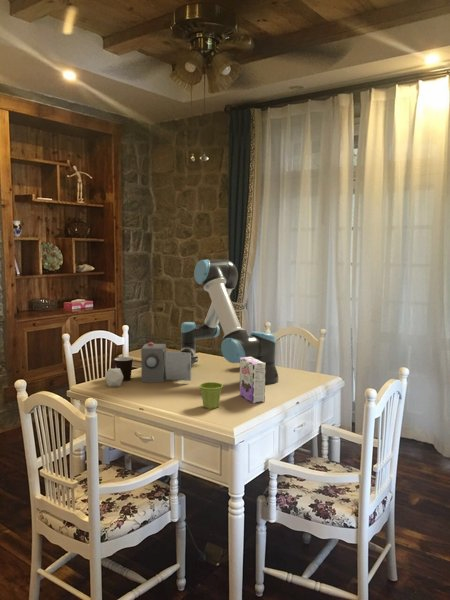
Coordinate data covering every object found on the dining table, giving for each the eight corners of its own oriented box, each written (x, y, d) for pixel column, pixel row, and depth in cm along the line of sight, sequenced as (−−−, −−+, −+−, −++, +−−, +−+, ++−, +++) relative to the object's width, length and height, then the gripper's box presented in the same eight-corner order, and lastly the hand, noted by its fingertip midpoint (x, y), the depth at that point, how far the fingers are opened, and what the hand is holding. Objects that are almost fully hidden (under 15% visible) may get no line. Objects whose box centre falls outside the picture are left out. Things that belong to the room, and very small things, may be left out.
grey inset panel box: (162, 383, 236) (162, 347, 235) (140, 383, 237) (140, 347, 235) (166, 376, 251) (166, 341, 249) (145, 375, 251) (145, 341, 249)
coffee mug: (130, 381, 239) (130, 360, 238) (112, 381, 239) (112, 360, 238) (135, 375, 251) (135, 355, 250) (118, 375, 251) (118, 355, 250)
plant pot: (223, 410, 197) (223, 388, 197) (199, 410, 197) (199, 388, 196) (222, 403, 207) (222, 382, 206) (198, 403, 206) (198, 382, 205)
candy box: (238, 394, 218) (239, 357, 217) (251, 393, 221) (251, 356, 219) (252, 403, 206) (252, 363, 204) (265, 402, 208) (266, 362, 206)
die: (125, 384, 237) (113, 367, 238) (129, 379, 230) (118, 361, 231) (110, 393, 232) (98, 375, 234) (114, 388, 225) (102, 370, 227)
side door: (162, 379, 238) (162, 352, 237) (164, 378, 240) (164, 351, 239) (190, 381, 235) (190, 353, 234) (191, 380, 237) (191, 352, 236)
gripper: (199, 363, 261) (195, 374, 238) (173, 362, 261) (167, 374, 238) (199, 348, 260) (195, 358, 237) (173, 348, 261) (167, 358, 237)
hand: (181, 366), depth 237 cm, fingers closed
